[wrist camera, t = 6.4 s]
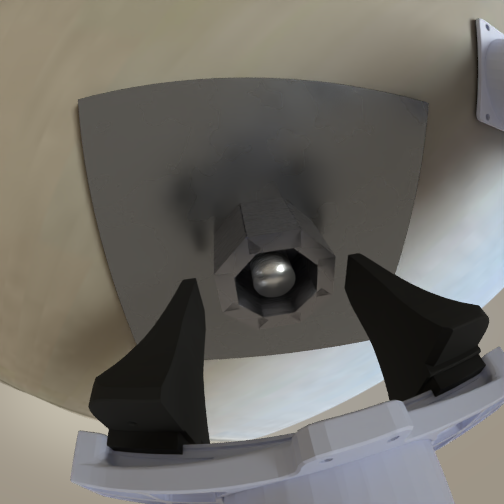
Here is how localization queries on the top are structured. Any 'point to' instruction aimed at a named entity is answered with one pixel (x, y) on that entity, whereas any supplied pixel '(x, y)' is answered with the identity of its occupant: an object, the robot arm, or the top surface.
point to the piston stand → (248, 192)
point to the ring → (265, 240)
